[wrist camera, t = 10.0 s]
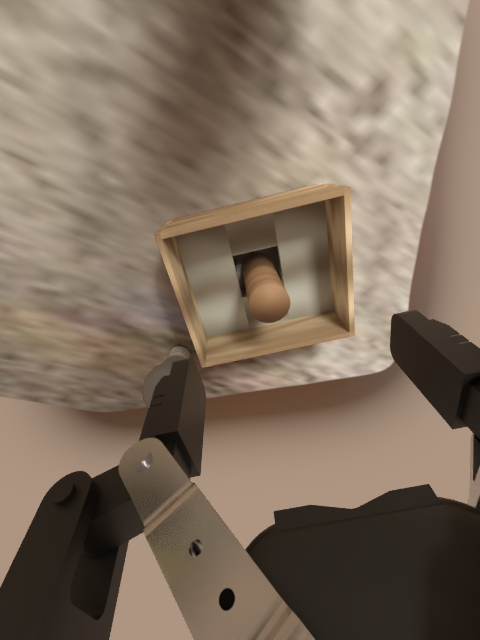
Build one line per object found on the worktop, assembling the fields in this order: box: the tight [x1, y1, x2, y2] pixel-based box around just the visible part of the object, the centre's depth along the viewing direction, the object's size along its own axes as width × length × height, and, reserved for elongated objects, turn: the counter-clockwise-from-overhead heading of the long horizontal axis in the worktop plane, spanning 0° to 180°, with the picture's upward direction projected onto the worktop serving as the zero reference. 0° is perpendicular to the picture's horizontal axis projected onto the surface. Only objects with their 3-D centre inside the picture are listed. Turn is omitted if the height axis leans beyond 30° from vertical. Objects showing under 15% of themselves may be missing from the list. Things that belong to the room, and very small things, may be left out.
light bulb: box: [143, 346, 190, 408], centre depth 33 cm, size 6×6×10 cm
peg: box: [242, 252, 290, 323], centre depth 28 cm, size 3×3×10 cm
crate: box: [154, 183, 355, 368], centre depth 29 cm, size 14×16×7 cm
